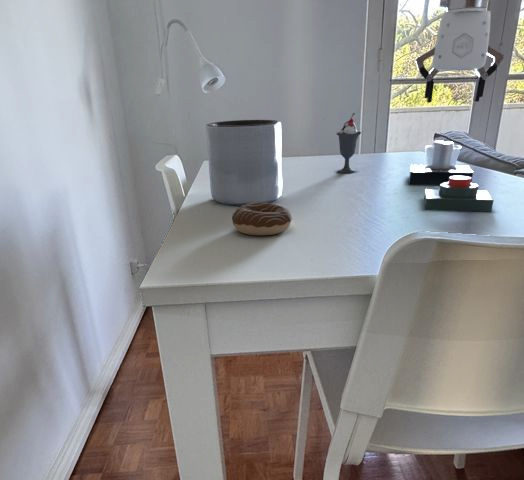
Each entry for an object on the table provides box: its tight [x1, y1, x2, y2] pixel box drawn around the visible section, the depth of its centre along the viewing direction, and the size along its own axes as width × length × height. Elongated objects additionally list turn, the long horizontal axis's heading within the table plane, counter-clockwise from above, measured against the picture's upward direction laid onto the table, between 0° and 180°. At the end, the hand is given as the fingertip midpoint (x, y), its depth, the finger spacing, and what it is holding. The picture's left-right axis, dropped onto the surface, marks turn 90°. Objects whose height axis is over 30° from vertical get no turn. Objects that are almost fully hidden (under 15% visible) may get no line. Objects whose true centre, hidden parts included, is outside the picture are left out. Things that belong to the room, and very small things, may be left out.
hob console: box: [408, 164, 474, 186], centre depth 116 cm, size 14×10×3 cm
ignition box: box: [423, 182, 494, 213], centre depth 93 cm, size 12×9×4 cm
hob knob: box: [431, 140, 454, 170], centre depth 113 cm, size 4×4×6 cm
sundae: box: [335, 112, 362, 174], centre depth 129 cm, size 7×7×15 cm
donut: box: [231, 202, 293, 237], centre depth 82 cm, size 11×11×4 cm
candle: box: [425, 144, 462, 166], centre depth 126 cm, size 9×9×6 cm
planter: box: [205, 119, 284, 206], centre depth 102 cm, size 16×16×16 cm
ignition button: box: [448, 176, 472, 187], centre depth 92 cm, size 4×4×2 cm
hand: (452, 101), depth 102 cm, fingers open, 9 cm apart
